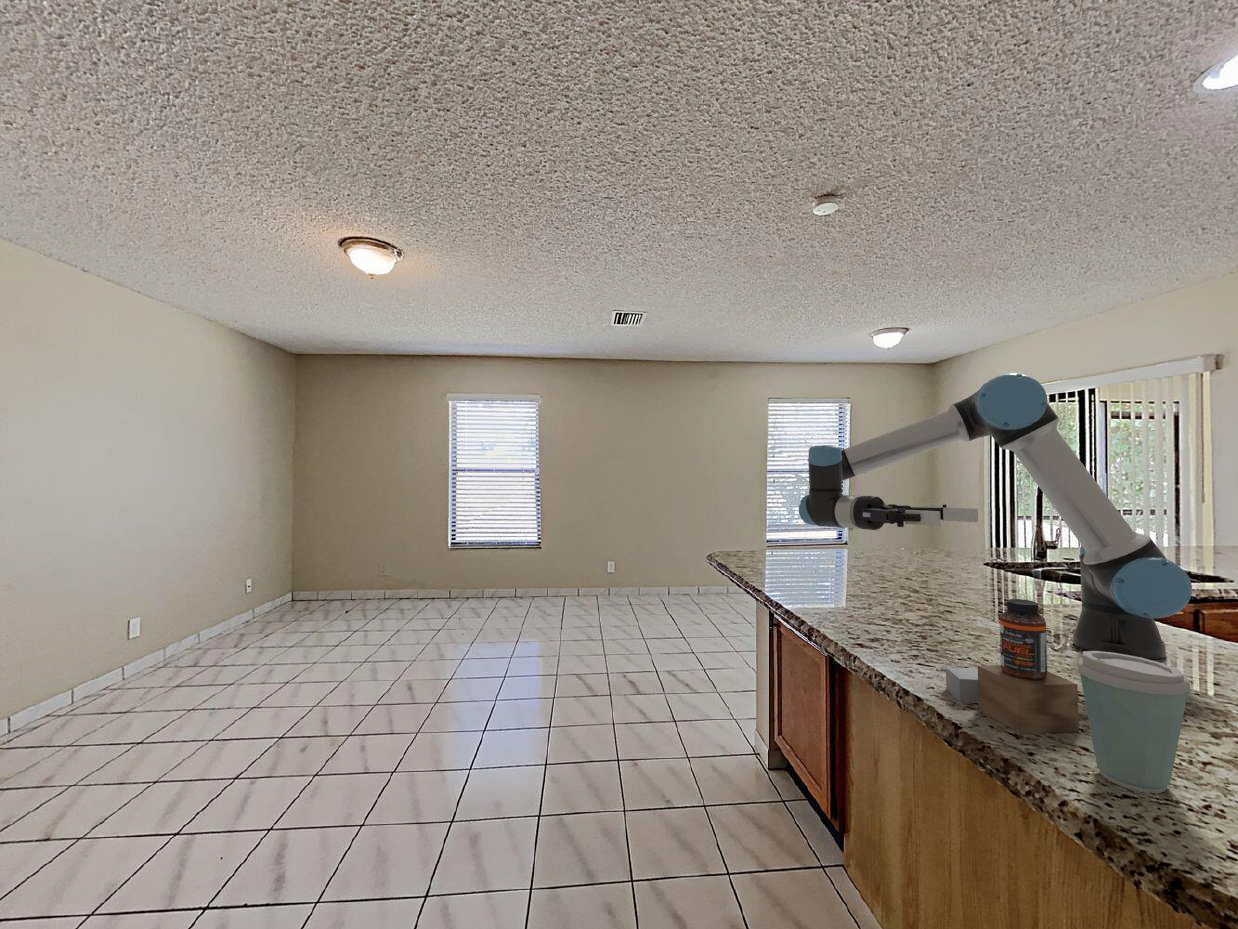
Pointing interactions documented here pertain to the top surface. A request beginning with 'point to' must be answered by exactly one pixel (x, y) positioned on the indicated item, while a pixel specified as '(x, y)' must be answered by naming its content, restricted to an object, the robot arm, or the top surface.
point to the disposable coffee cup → (1133, 717)
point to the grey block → (963, 683)
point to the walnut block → (1028, 701)
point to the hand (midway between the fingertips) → (959, 517)
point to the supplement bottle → (1023, 640)
